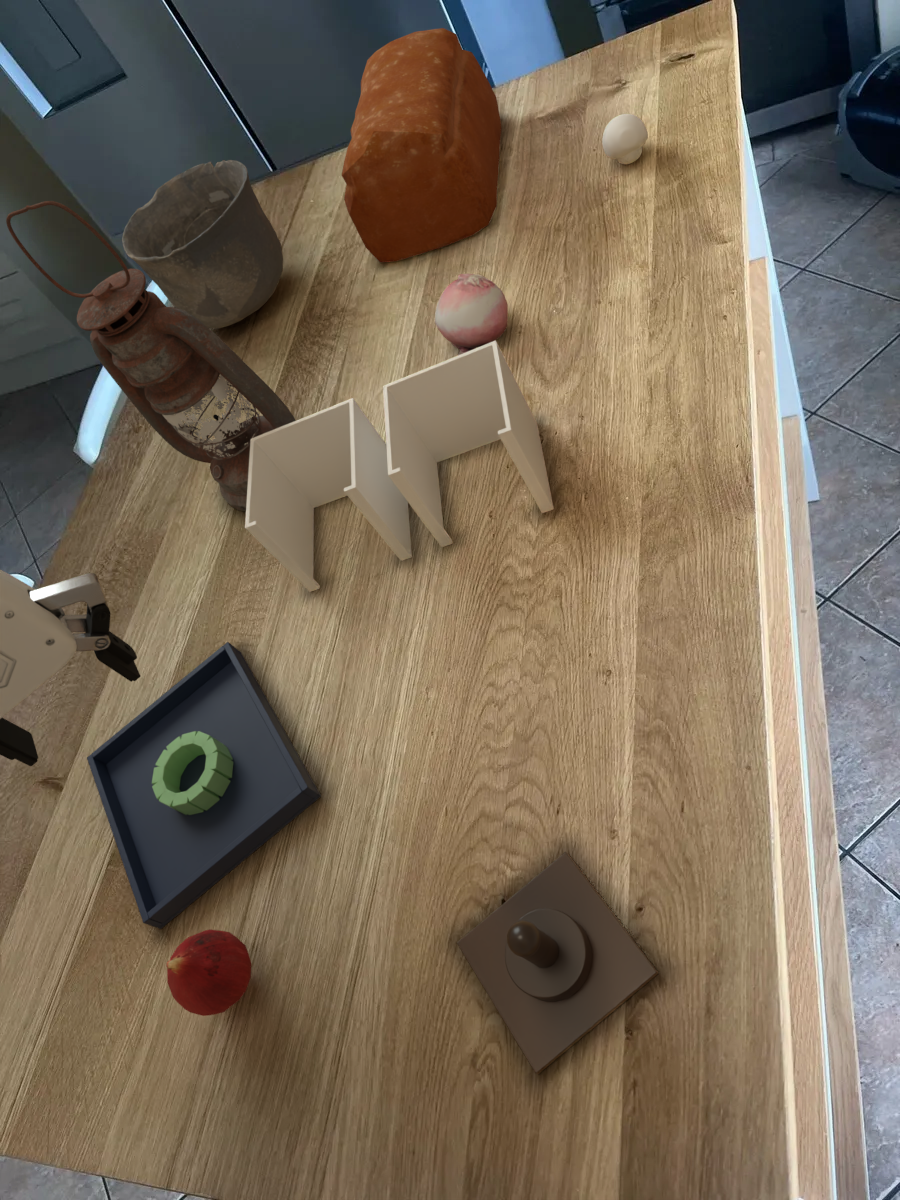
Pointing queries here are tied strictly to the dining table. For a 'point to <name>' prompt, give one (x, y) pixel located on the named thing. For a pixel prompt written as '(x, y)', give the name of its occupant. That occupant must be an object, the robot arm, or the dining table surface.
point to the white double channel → (389, 456)
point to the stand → (555, 961)
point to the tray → (232, 825)
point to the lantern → (175, 371)
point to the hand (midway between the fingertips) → (82, 709)
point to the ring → (209, 782)
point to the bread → (422, 147)
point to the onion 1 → (209, 972)
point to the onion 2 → (471, 312)
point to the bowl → (208, 244)
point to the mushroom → (624, 138)
